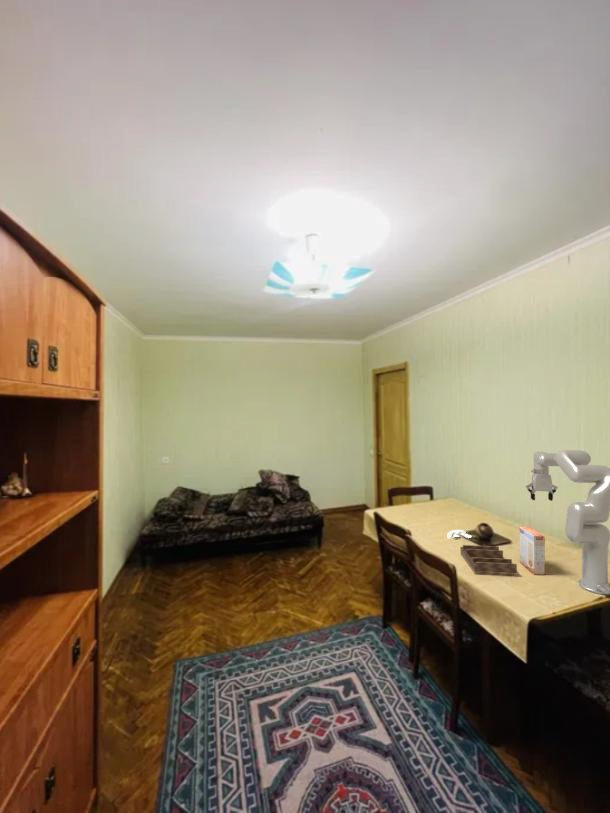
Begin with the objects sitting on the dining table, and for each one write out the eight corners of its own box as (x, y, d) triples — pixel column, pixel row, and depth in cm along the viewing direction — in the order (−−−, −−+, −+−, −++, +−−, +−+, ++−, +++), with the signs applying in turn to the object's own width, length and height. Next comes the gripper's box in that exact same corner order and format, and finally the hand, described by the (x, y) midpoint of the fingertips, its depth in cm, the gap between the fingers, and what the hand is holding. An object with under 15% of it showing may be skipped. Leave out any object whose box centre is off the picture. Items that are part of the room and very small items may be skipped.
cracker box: (545, 575, 176) (545, 535, 176) (533, 574, 177) (533, 535, 177) (530, 562, 190) (530, 526, 190) (519, 562, 191) (519, 525, 190)
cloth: (463, 530, 242) (463, 526, 242) (483, 542, 220) (483, 538, 220) (437, 532, 239) (437, 528, 239) (455, 544, 217) (454, 541, 217)
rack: (499, 555, 199) (499, 545, 199) (519, 576, 175) (519, 565, 175) (460, 554, 202) (460, 544, 202) (474, 574, 178) (474, 563, 178)
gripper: (529, 473, 203) (529, 501, 203) (560, 473, 201) (560, 502, 201) (522, 470, 211) (523, 497, 211) (553, 471, 208) (553, 498, 208)
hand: (541, 499), depth 206 cm, fingers open, 9 cm apart
